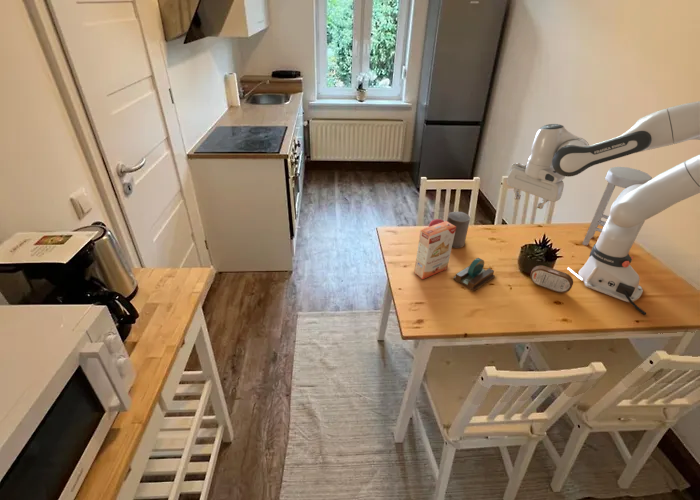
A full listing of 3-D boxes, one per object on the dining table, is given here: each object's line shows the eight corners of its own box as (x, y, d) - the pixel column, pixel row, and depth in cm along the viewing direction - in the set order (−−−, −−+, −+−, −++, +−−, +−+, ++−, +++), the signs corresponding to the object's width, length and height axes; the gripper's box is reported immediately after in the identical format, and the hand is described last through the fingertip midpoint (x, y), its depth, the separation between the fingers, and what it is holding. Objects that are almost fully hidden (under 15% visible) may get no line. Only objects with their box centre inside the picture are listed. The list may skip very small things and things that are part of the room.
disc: (482, 273, 156) (486, 257, 152) (470, 280, 152) (474, 264, 148) (477, 270, 158) (481, 254, 153) (466, 278, 153) (470, 262, 149)
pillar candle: (442, 245, 175) (447, 217, 167) (444, 235, 183) (449, 207, 175) (464, 249, 173) (470, 220, 165) (465, 238, 181) (471, 210, 173)
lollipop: (441, 245, 176) (446, 216, 167) (443, 254, 169) (448, 225, 161) (424, 244, 176) (429, 215, 168) (425, 253, 170) (430, 223, 162)
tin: (569, 292, 149) (576, 275, 144) (567, 297, 147) (575, 279, 142) (528, 278, 156) (534, 261, 151) (527, 282, 154) (533, 265, 149)
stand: (494, 277, 156) (496, 271, 154) (474, 291, 148) (475, 285, 147) (473, 266, 162) (474, 260, 161) (453, 278, 155) (454, 273, 153)
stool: (584, 231, 189) (613, 163, 170) (620, 243, 181) (654, 173, 161) (576, 244, 179) (605, 173, 160) (613, 256, 171) (648, 184, 151)
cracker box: (423, 280, 153) (430, 236, 142) (413, 272, 158) (419, 228, 146) (448, 269, 160) (457, 226, 148) (438, 262, 164) (445, 219, 153)
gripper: (508, 163, 145) (499, 196, 153) (561, 180, 132) (549, 215, 140) (517, 159, 148) (508, 192, 156) (570, 176, 136) (557, 210, 143)
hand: (528, 203), depth 148 cm, fingers open, 8 cm apart
